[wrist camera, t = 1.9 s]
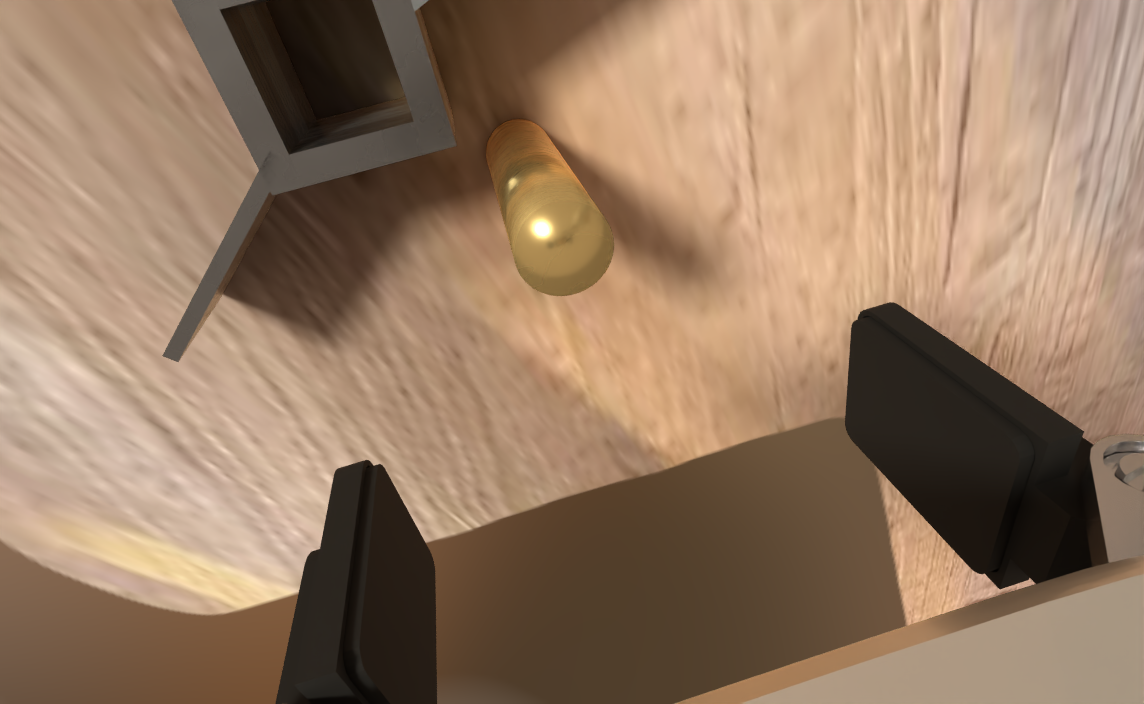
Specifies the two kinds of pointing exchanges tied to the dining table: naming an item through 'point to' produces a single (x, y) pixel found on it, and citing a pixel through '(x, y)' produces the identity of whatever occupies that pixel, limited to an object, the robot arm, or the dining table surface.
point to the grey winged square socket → (304, 120)
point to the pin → (546, 212)
